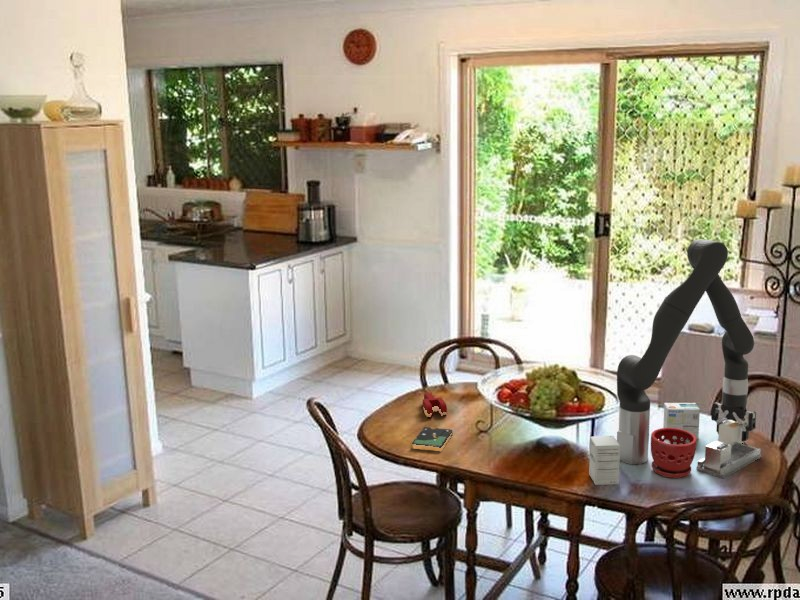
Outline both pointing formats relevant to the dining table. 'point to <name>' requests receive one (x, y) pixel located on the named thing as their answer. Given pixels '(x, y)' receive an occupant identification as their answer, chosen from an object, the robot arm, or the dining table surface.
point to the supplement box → (604, 460)
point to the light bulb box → (682, 417)
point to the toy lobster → (433, 403)
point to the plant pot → (672, 452)
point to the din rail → (727, 458)
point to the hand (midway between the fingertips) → (732, 437)
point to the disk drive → (432, 437)
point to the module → (730, 432)
